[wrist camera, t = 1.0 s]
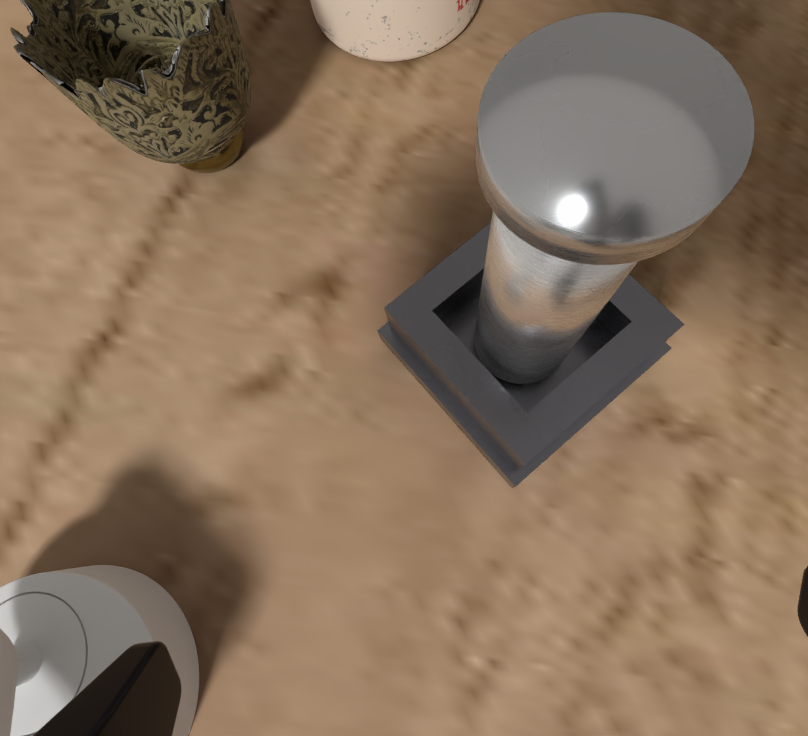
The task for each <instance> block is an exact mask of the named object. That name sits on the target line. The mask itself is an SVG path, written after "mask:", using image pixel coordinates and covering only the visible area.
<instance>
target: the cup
mask: <svg viewBox="0 0 808 736" xmlns="http://www.w3.org/2000/svg"><path fill="white" fill-rule="evenodd" d="M20 1H21V2H22V3H23V4H24V5H25V7H27V9H28V11H29V12H30V14H31V15H32V17H33V21H32V22H31V24H30V25H28V26H27V29H28V32H29V35H28V37H24V36H23V35H22V34H20V33H19V32H18V31H16V30H15V29H14V28H12V27H11V32H12V34H13V36H14V38H15V39H16V40H17V41H18V43H19V44H17V45H15V46H14V49H15V50H16V51H17V53H18V54H19V55H20V56H21V57H22V58H23V59H24V60H25V61H26V62H28V63H29V64H30V65H31V66H32V67H34V68H35V69H36V70H37V71H38V72H40V73H41V74H42V75H43V76H44V77H45V78H46V79H47V80H49V81H50V82H51V83H52V84H53V85H54V86H55V87H56V88H57V89H58V90H60V91H61V92H62V93H63V94H64V95H65V96H66V97H67V98H68V99H70V100H71V101H72V102H73V103H74V104H75V105H76V106H77V107H79V108H80V109H81V110H82V111H83V112H84V113H85V114H87V115H88V116H89V117H90V118H91V119H92V120H93V121H95V122H96V123H97V124H98V125H99V126H101V127H102V128H103V129H104V130H105V131H107V132H108V133H109V134H110V135H111V136H113V137H114V138H115V139H117V140H118V141H119V142H121V143H122V144H124V145H125V146H127V147H128V148H130V149H132V150H133V151H135V152H136V153H138V154H141V155H143V156H145V157H147V158H150V159H153V160H156V161H160V162H165V163H173V164H179V165H180V166H182V167H184V168H186V169H188V170H191V171H194V172H198V173H212V172H216V171H219V170H221V169H223V168H225V167H227V166H228V165H230V164H231V163H232V162H233V161H234V160H235V159H236V158H237V156H238V155H239V153H240V151H241V149H242V146H243V141H244V128H243V125H244V123H245V121H246V118H247V115H248V111H249V108H250V101H251V82H250V73H249V68H248V63H247V58H246V55H245V51H244V47H243V43H242V40H241V36H240V33H239V29H238V26H237V22H236V19H235V16H234V12H233V9H232V6H231V2H230V0H20ZM32 24H33V25H32ZM30 34H31V35H30Z"/></svg>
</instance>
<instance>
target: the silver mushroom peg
mask: <svg viewBox="0 0 808 736" xmlns="http://www.w3.org/2000/svg"><path fill="white" fill-rule="evenodd" d="M753 141H754V115H753V110H752V104H751V102H750V99H749V96H748V93H747V90H746V88H745V86H744V84H743V83H742V81H741V79H740V77H739V75H738V74H737V73H736V71H735V70H734V69H733V67H732V66H731V64H730V63H729V62H728V61H727V60H726V59H725V58H724V57H723V56H722V55H721V54H720V53H719V52H718V51H717V50H716V49H715V48H713V47H712V46H711V45H710V44H709V43H707V42H706V41H704V40H703V39H701V38H700V37H698V36H697V35H695V34H693V33H692V32H690V31H688V30H686V29H684V28H682V27H680V26H678V25H675V24H672V23H669V22H667V21H664V20H661V19H657V18H653V17H649V16H645V15H639V14H632V13H620V12H603V13H591V14H585V15H578V16H574V17H570V18H567V19H563V20H560V21H557V22H555V23H552V24H549V25H547V26H545V27H543V28H541V29H539V30H537V31H535V32H533V33H532V34H530V35H529V36H527V37H526V38H524V39H523V40H521V41H520V42H519V43H517V44H516V45H515V46H514V47H513V48H512V49H511V50H509V51H508V52H507V54H506V55H505V56H504V57H503V58H502V59H501V60H500V61H499V63H498V64H497V66H496V67H495V69H494V70H493V72H492V73H491V75H490V77H489V79H488V81H487V83H486V85H485V87H484V91H483V94H482V97H481V101H480V107H479V114H478V127H477V140H476V170H477V176H478V180H479V183H480V186H481V190H482V192H483V194H484V196H485V198H486V200H487V202H488V204H489V206H490V207H491V209H492V210H493V212H492V219H491V226H490V232H489V239H488V246H487V252H486V259H485V266H484V273H483V279H482V286H481V293H480V300H479V306H478V313H477V320H476V327H475V334H474V344H475V349H476V352H477V355H478V357H479V359H480V361H481V362H482V364H483V365H484V366H485V368H486V369H487V370H488V371H489V372H491V373H492V374H493V375H495V376H496V377H498V378H500V379H502V380H505V381H507V382H511V383H517V384H527V383H533V382H537V381H540V380H542V379H544V378H546V377H548V376H549V375H551V374H552V373H553V372H554V371H555V370H556V369H557V368H558V367H559V366H560V364H561V363H562V362H563V360H564V359H565V358H566V356H567V355H568V354H569V352H570V351H571V350H572V348H573V347H574V346H575V345H576V343H577V342H578V341H579V339H580V338H581V337H582V335H583V334H584V333H585V331H586V330H587V329H588V327H589V326H590V325H591V323H592V322H593V321H594V319H595V318H596V317H597V315H598V314H599V313H600V311H601V310H602V309H603V307H604V306H605V305H606V303H607V302H608V301H609V299H610V298H611V297H612V295H613V294H614V293H615V291H616V290H617V289H618V287H619V286H620V285H621V284H622V282H623V281H624V280H625V278H626V277H627V276H628V274H629V273H630V272H631V270H632V269H633V268H634V266H635V265H636V264H637V262H638V261H640V260H644V259H648V258H651V257H653V256H656V255H658V254H661V253H664V252H665V251H667V250H669V249H671V248H673V247H675V246H676V245H678V244H679V243H681V242H682V241H684V240H685V239H686V238H688V237H689V236H690V235H691V234H692V233H693V232H694V231H695V230H696V229H697V228H698V227H699V226H700V225H701V224H702V223H703V222H704V221H705V220H706V219H707V218H708V217H709V215H710V214H711V213H712V212H713V211H714V210H715V209H716V207H717V206H718V205H719V204H720V203H721V202H722V201H723V199H724V198H725V197H726V196H727V195H728V194H729V193H730V191H731V190H732V189H733V187H734V186H735V185H736V183H737V182H738V181H739V179H740V178H741V176H742V174H743V172H744V170H745V168H746V166H747V164H748V161H749V158H750V155H751V152H752V148H753Z"/></svg>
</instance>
